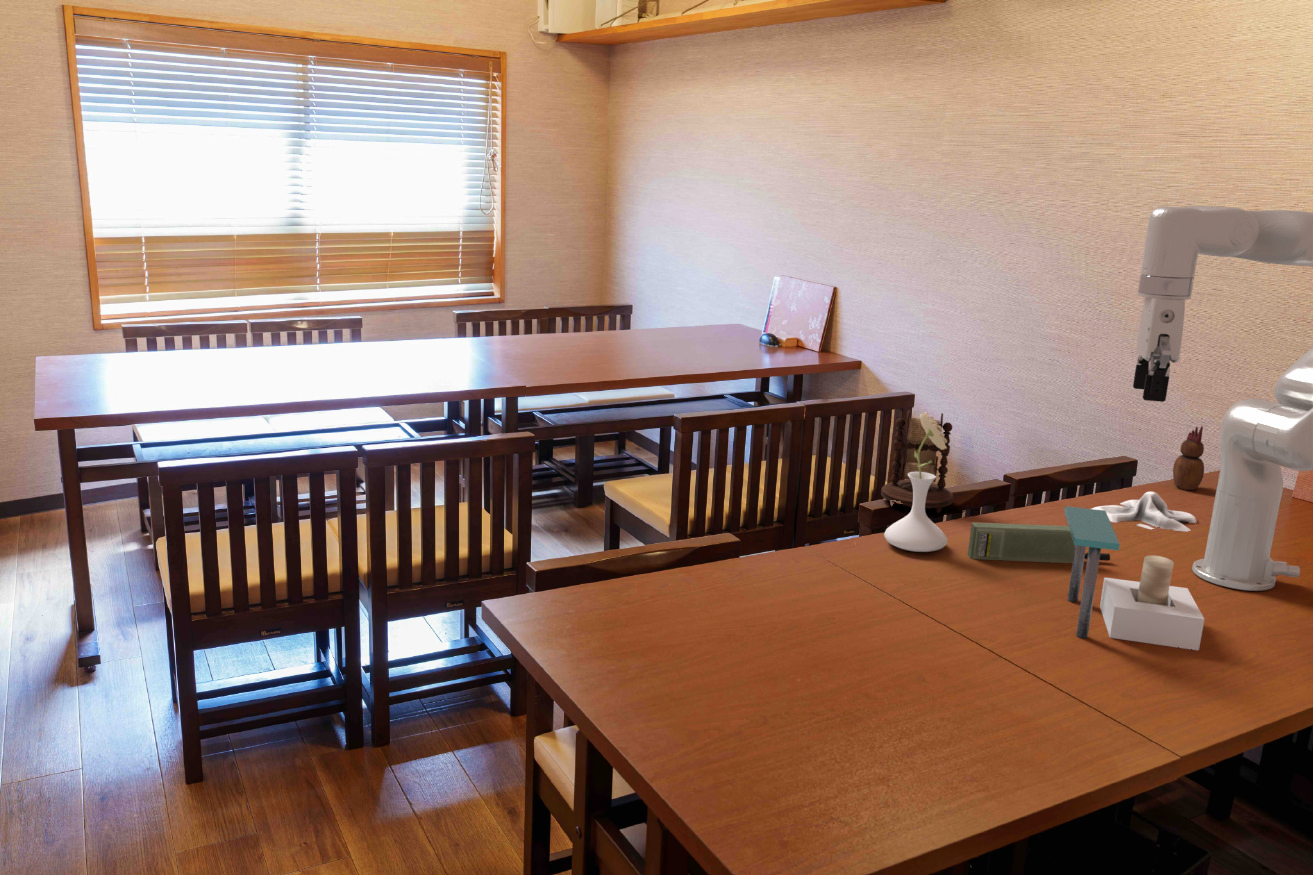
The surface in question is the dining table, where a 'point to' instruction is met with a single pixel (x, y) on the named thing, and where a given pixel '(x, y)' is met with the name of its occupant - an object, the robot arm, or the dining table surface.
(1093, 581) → the small teal stool
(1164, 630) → the socket block
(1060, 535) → the handheld radio
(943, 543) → the flower in vase
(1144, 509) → the cloth
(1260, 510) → the robot arm
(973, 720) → the dining table surface
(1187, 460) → the wooden figurine
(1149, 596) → the peg
